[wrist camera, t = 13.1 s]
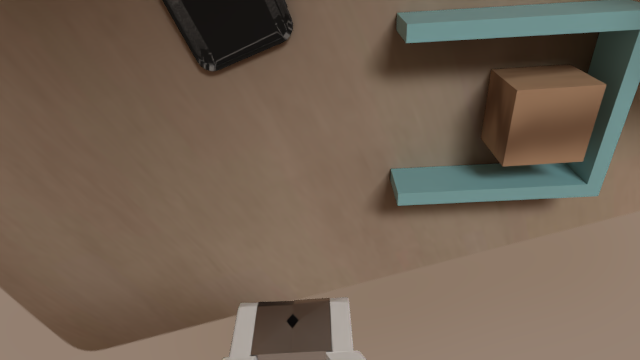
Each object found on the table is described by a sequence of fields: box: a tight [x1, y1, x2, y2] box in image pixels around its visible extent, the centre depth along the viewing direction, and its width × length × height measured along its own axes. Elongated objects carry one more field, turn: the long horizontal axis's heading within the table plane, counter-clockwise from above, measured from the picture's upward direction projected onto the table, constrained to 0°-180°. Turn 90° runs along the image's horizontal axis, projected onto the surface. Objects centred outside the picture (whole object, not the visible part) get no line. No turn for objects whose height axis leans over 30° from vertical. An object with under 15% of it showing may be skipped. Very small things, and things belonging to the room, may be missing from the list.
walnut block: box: [481, 64, 607, 166], centre depth 32 cm, size 6×6×5 cm
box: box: [390, 0, 640, 206], centre depth 32 cm, size 14×16×4 cm
